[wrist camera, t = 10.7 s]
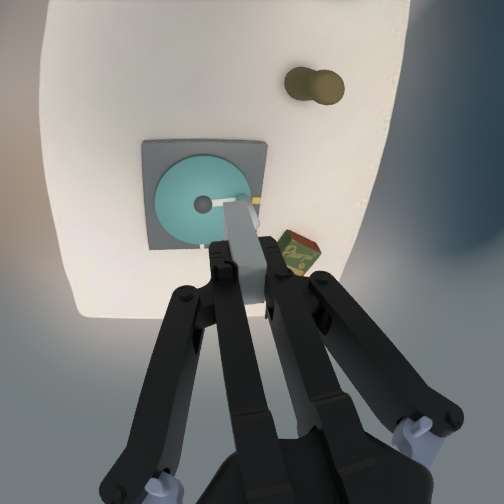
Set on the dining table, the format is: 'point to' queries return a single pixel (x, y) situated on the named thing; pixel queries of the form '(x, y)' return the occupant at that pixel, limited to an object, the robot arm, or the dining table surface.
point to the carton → (298, 252)
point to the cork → (314, 85)
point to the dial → (200, 198)
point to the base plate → (171, 151)
